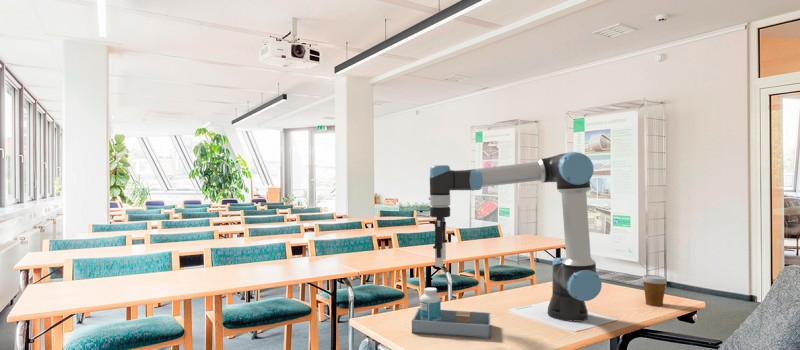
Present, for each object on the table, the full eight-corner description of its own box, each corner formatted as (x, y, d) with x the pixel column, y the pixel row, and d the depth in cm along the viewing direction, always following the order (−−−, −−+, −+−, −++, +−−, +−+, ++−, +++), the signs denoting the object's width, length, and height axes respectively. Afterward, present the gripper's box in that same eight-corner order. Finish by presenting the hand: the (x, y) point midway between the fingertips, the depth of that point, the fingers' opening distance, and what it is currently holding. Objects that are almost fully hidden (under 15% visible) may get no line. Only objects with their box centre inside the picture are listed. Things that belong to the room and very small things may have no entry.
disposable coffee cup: (643, 300, 209) (643, 273, 209) (668, 303, 204) (668, 276, 204) (640, 305, 202) (640, 277, 202) (665, 308, 196) (665, 280, 196)
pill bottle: (441, 323, 173) (441, 287, 173) (439, 329, 166) (439, 292, 166) (421, 321, 175) (422, 285, 174) (418, 328, 167) (419, 290, 167)
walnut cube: (469, 330, 165) (469, 316, 165) (455, 329, 166) (455, 315, 166) (470, 325, 170) (470, 312, 170) (456, 324, 171) (456, 311, 171)
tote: (490, 324, 174) (490, 312, 174) (490, 338, 159) (490, 325, 159) (418, 319, 179) (418, 308, 179) (411, 333, 164) (411, 320, 164)
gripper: (433, 204, 187) (433, 256, 187) (426, 208, 162) (427, 269, 162) (452, 204, 186) (452, 257, 186) (447, 208, 161) (448, 269, 161)
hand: (440, 263), depth 174 cm, fingers open, 13 cm apart
